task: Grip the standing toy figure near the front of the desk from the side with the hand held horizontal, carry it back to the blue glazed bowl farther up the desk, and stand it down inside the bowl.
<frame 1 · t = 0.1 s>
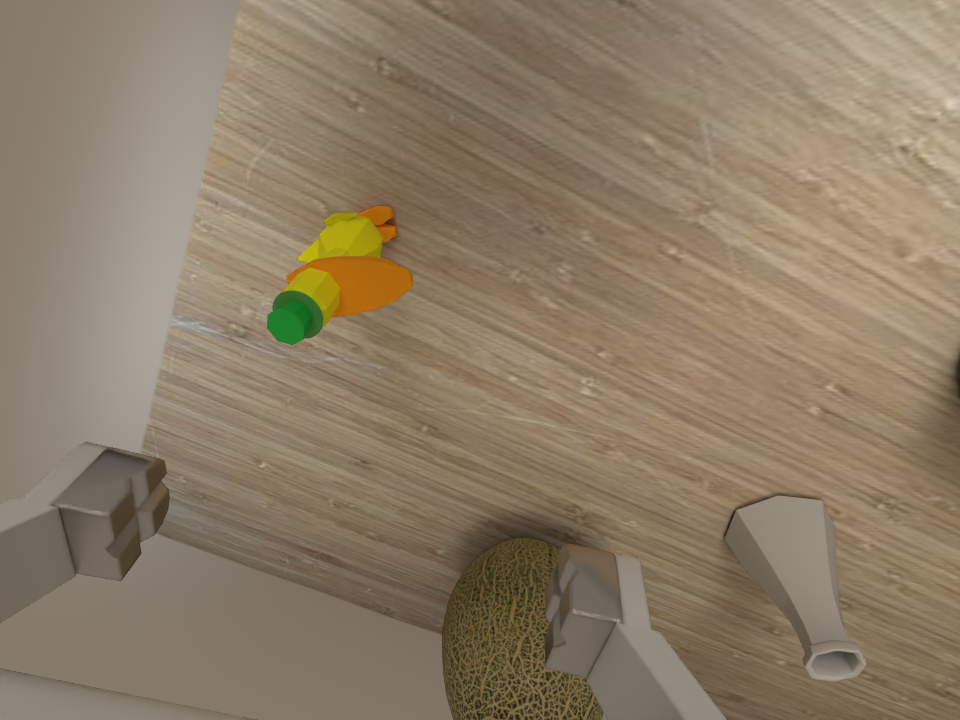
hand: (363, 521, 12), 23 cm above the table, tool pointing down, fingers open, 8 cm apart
toy figure: (382, 222, 33), on the table
flask: (776, 527, 42), on the table
fruit: (528, 556, 46), on the table
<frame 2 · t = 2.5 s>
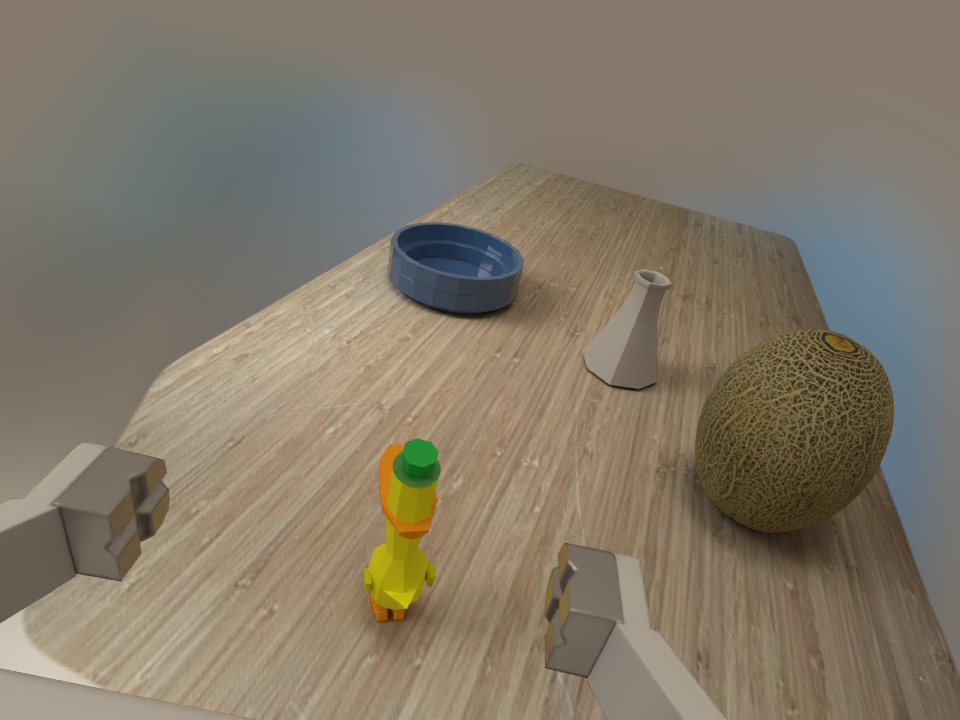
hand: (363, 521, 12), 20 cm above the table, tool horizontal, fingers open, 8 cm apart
bowl: (451, 286, 67), on the table
toy figure: (388, 603, 33), on the table
flask: (617, 370, 59), on the table
fruit: (741, 507, 45), on the table
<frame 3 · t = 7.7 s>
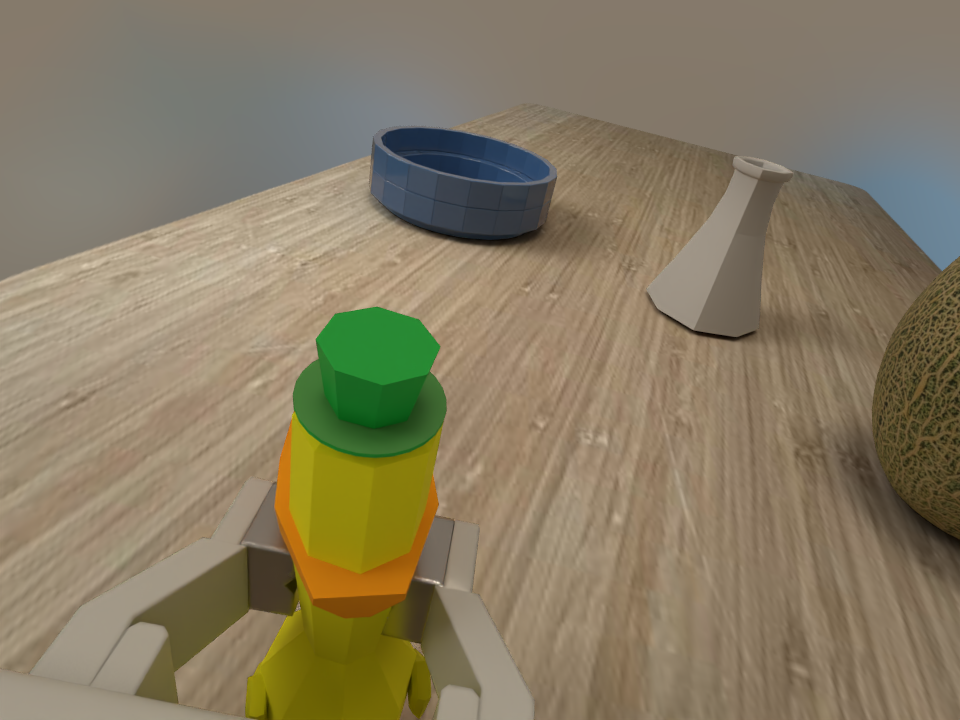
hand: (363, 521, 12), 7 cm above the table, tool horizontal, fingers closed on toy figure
bowl: (457, 208, 49), on the table
flask: (698, 314, 41), on the table
fruit: (943, 513, 27), on the table
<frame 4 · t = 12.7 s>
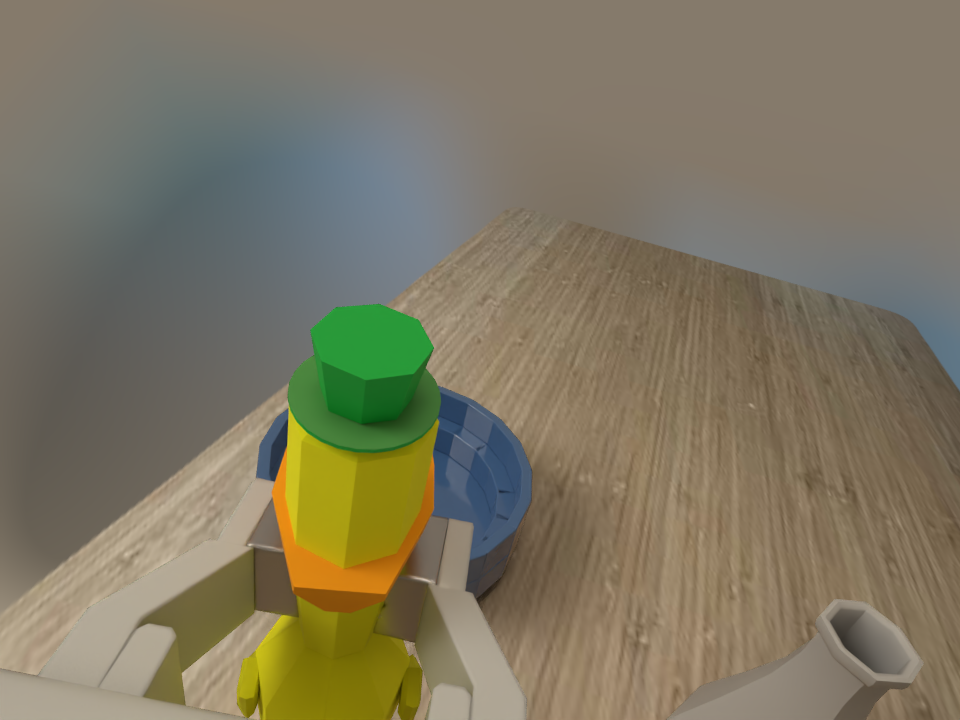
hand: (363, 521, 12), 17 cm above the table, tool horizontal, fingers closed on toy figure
bowl: (391, 516, 34), on the table
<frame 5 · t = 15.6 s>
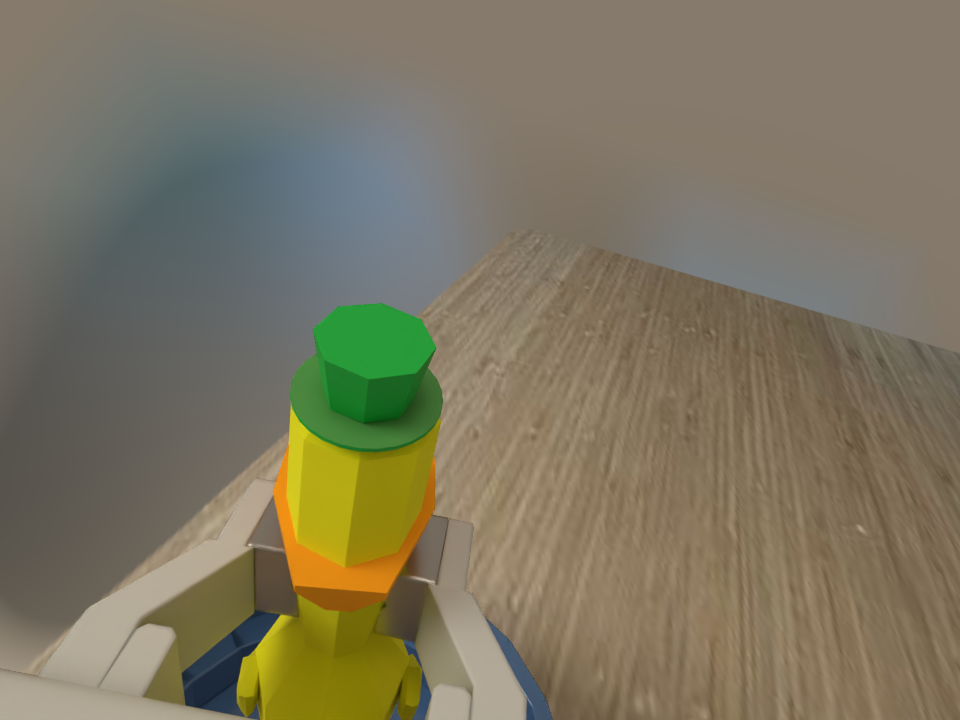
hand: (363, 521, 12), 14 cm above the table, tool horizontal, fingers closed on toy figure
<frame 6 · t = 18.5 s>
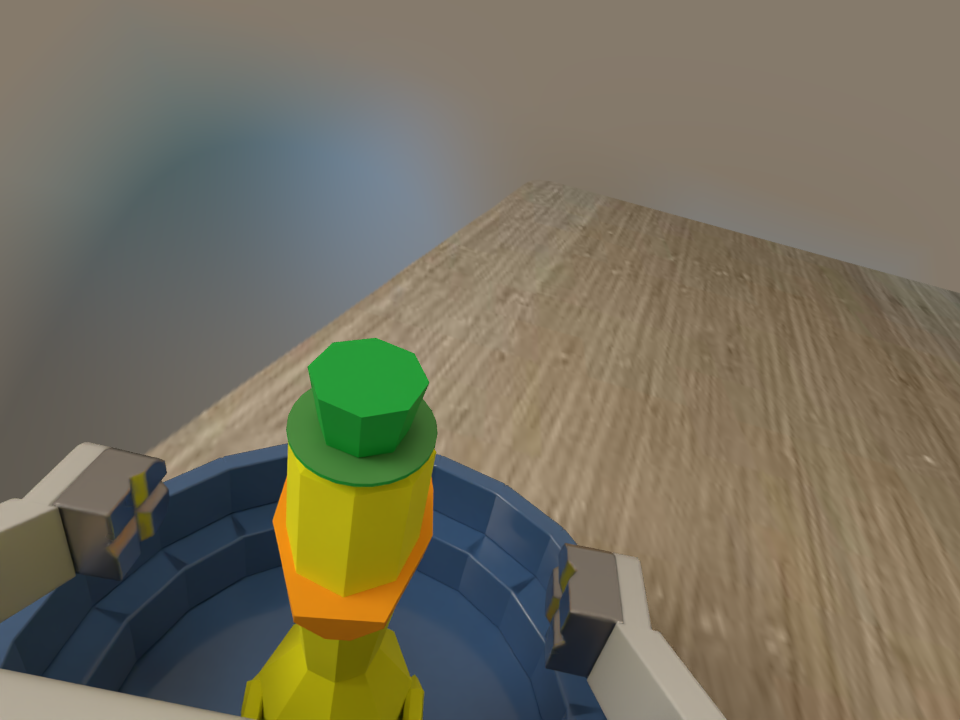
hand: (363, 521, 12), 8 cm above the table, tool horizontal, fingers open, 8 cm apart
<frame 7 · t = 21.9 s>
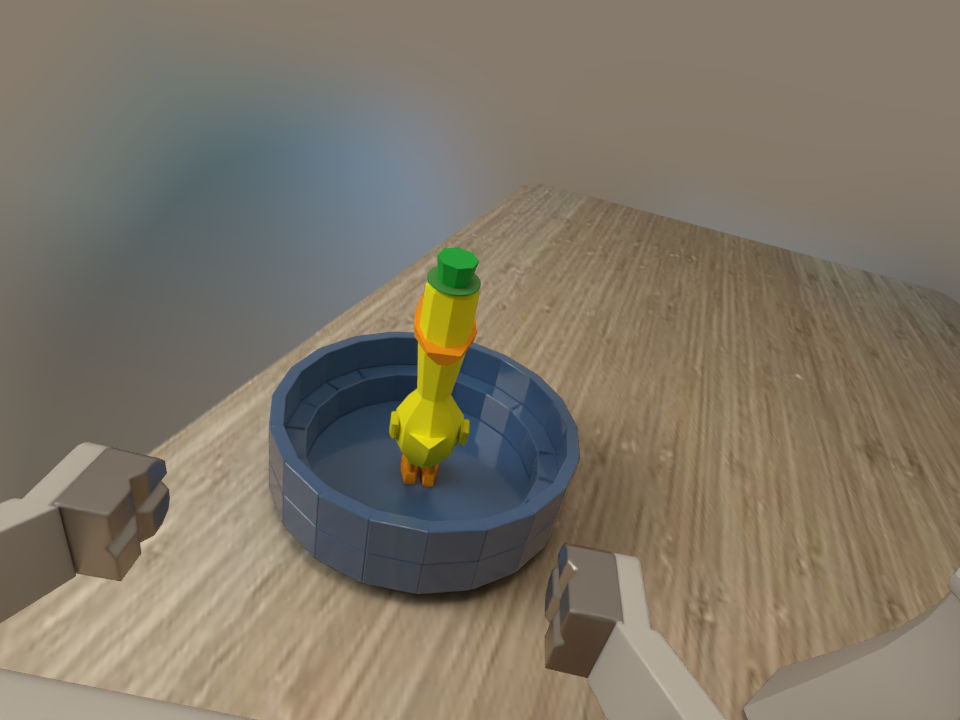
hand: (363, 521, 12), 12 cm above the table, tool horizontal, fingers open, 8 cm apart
bowl: (418, 480, 31), on the table
toy figure: (419, 471, 30), point 1 cm above the table, touching bowl
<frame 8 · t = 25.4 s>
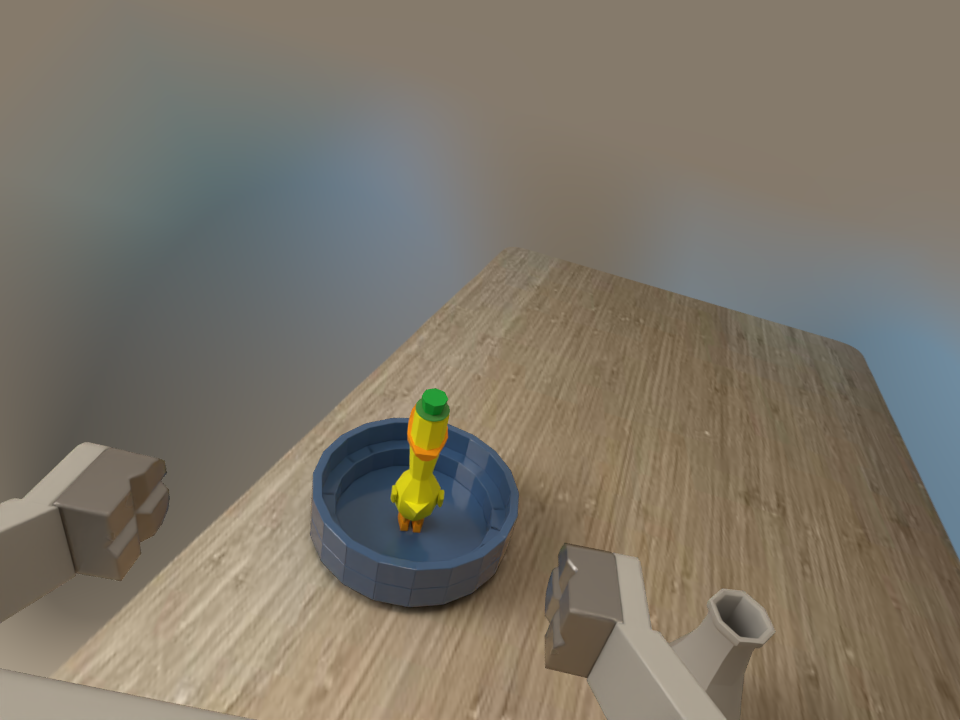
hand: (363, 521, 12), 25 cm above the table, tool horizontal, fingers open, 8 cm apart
bowl: (410, 526, 44), on the table
toy figure: (411, 521, 44), point 1 cm above the table, touching bowl
flask: (670, 716, 36), on the table
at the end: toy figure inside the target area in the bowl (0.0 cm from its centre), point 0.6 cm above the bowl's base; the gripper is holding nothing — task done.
